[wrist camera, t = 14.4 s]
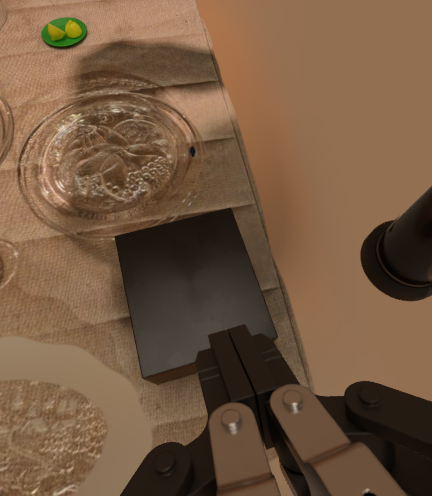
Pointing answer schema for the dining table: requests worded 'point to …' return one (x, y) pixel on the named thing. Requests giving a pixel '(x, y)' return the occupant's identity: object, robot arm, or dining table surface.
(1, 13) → the container
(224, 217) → the black square slab
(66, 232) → the dining table surface
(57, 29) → the green plate with lemons
